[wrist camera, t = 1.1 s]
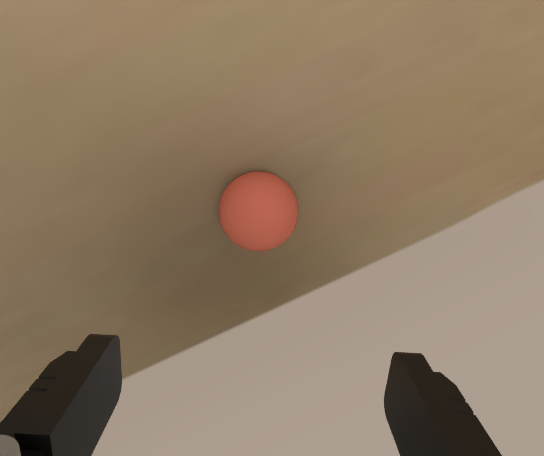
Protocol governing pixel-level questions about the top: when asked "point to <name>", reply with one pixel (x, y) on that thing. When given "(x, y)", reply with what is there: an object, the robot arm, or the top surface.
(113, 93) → the top surface
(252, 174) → the ball
